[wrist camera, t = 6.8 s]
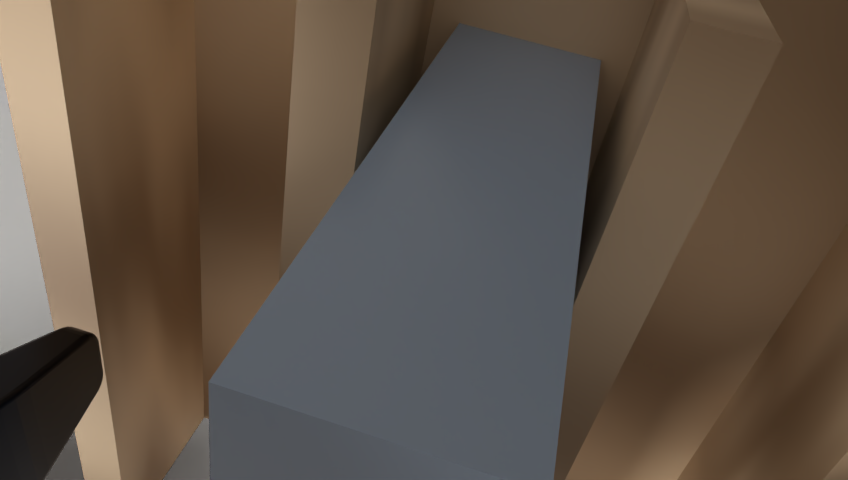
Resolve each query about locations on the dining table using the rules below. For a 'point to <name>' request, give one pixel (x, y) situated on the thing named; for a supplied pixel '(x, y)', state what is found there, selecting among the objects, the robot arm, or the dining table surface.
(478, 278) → the blue-grey flat block
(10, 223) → the dining table surface
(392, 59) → the rack
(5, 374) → the robot arm
